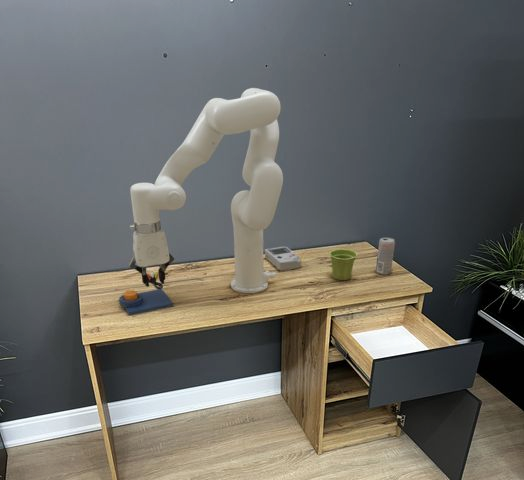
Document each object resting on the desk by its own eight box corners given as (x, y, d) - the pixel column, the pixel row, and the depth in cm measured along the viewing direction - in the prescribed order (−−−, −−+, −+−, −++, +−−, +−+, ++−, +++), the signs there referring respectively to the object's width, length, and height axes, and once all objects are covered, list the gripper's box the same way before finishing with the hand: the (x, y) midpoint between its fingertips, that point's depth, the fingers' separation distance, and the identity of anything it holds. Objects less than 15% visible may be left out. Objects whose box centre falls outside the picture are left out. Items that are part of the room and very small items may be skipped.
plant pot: (336, 284, 175) (338, 260, 171) (323, 274, 183) (324, 251, 178) (360, 279, 179) (362, 256, 174) (345, 270, 186) (347, 247, 181)
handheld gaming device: (279, 272, 185) (280, 262, 183) (264, 258, 197) (264, 248, 195) (302, 268, 188) (302, 258, 186) (285, 255, 199) (286, 245, 197)
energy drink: (386, 268, 187) (390, 236, 181) (393, 273, 183) (398, 241, 177) (372, 270, 186) (376, 238, 180) (380, 275, 182) (384, 243, 175)
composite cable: (164, 288, 158) (163, 281, 157) (149, 291, 157) (148, 283, 156) (157, 277, 166) (157, 269, 165) (143, 279, 165) (142, 272, 163)
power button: (135, 295, 163) (134, 289, 162) (139, 299, 160) (138, 294, 159) (123, 297, 161) (122, 291, 160) (126, 302, 158) (125, 296, 157)
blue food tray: (161, 292, 171) (160, 283, 169) (173, 306, 162) (172, 297, 160) (116, 300, 165) (115, 292, 163) (126, 316, 156) (124, 307, 154)
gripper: (122, 234, 146) (130, 293, 156) (179, 226, 153) (183, 283, 162) (116, 227, 152) (124, 284, 161) (171, 219, 158) (176, 274, 168)
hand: (154, 283), depth 162 cm, fingers closed on composite cable, 4 cm apart
